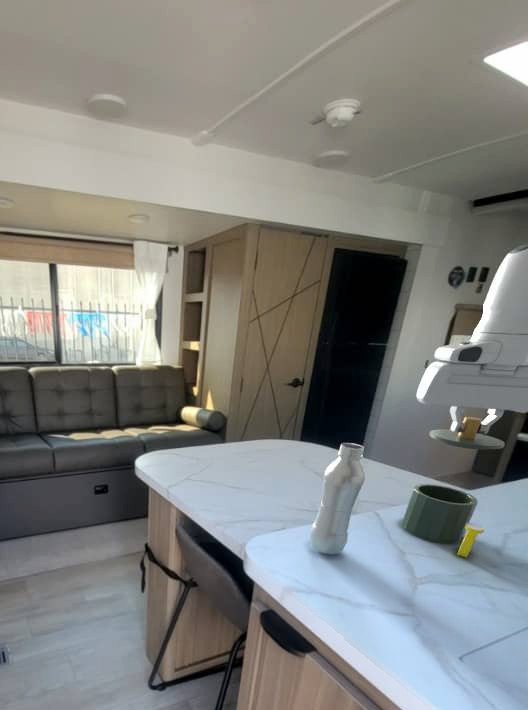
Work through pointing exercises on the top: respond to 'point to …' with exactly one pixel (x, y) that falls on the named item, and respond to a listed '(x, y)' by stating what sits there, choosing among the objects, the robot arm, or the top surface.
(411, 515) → the tin
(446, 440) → the tin lid
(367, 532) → the top surface
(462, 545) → the watch
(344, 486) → the plastic bottle
